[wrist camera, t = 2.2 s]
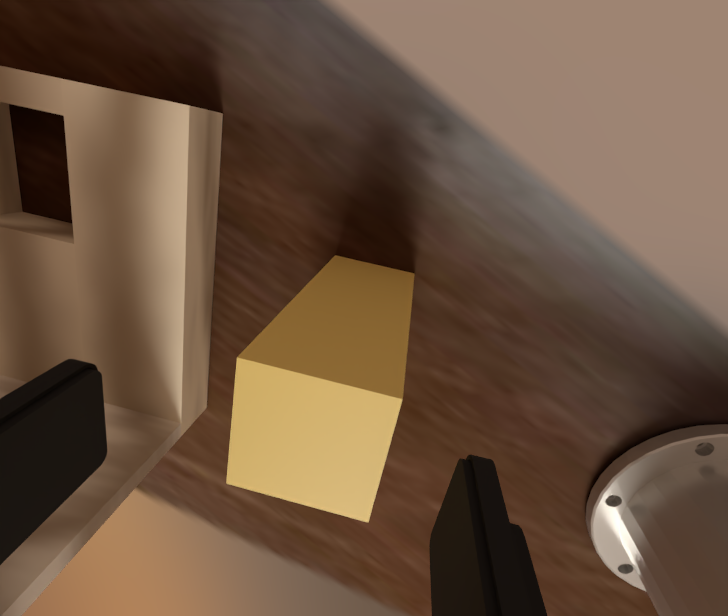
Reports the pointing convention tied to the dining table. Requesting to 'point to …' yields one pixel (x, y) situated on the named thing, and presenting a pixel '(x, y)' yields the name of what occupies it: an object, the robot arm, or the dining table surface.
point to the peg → (324, 390)
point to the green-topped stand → (109, 289)
